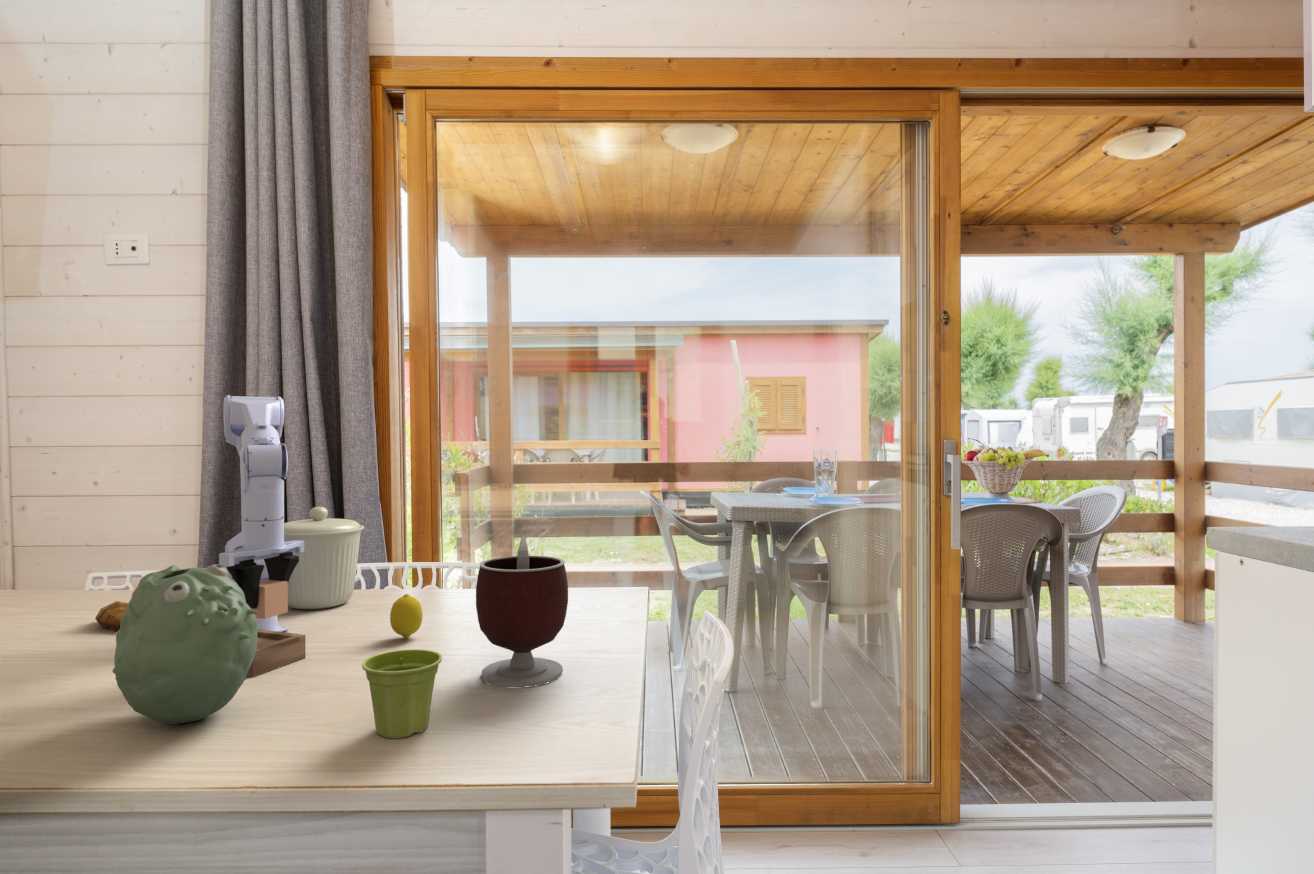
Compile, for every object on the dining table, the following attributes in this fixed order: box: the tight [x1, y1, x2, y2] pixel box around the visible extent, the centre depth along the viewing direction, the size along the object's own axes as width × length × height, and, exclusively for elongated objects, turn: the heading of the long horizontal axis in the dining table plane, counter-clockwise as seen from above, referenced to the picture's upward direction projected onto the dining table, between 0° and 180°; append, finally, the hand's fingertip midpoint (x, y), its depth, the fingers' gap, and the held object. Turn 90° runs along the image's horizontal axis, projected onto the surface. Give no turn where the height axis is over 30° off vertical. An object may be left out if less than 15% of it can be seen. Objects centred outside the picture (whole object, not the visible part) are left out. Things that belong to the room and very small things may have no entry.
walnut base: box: [246, 629, 306, 678], centre depth 116 cm, size 10×10×4 cm
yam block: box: [251, 580, 289, 619], centre depth 116 cm, size 4×4×5 cm
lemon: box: [389, 593, 424, 640], centre depth 130 cm, size 6×6×8 cm
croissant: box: [94, 600, 129, 632], centre depth 138 cm, size 14×7×5 cm, turn 54°
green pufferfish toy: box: [112, 563, 258, 725], centre depth 93 cm, size 16×19×20 cm
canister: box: [284, 506, 365, 610], centre depth 156 cm, size 18×18×21 cm
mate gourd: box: [475, 535, 569, 688], centre depth 112 cm, size 16×14×20 cm
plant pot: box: [361, 648, 443, 739], centre depth 90 cm, size 9×9×9 cm
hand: (264, 603), depth 116 cm, fingers closed on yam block, 4 cm apart
